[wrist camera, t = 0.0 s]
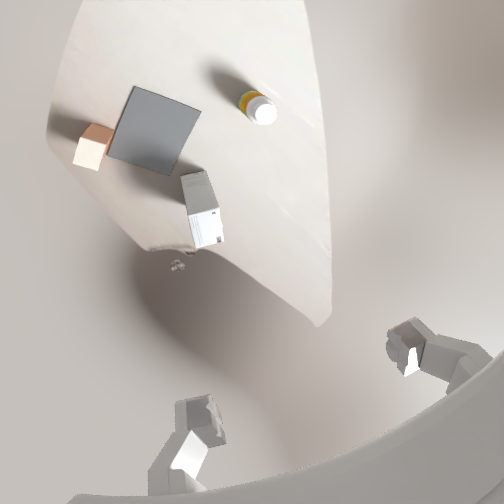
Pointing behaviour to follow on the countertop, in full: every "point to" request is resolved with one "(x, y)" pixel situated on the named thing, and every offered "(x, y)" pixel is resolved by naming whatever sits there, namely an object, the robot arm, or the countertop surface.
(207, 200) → the skincare box
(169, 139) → the mat
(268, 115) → the supplement bottle
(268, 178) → the countertop surface
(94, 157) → the block
